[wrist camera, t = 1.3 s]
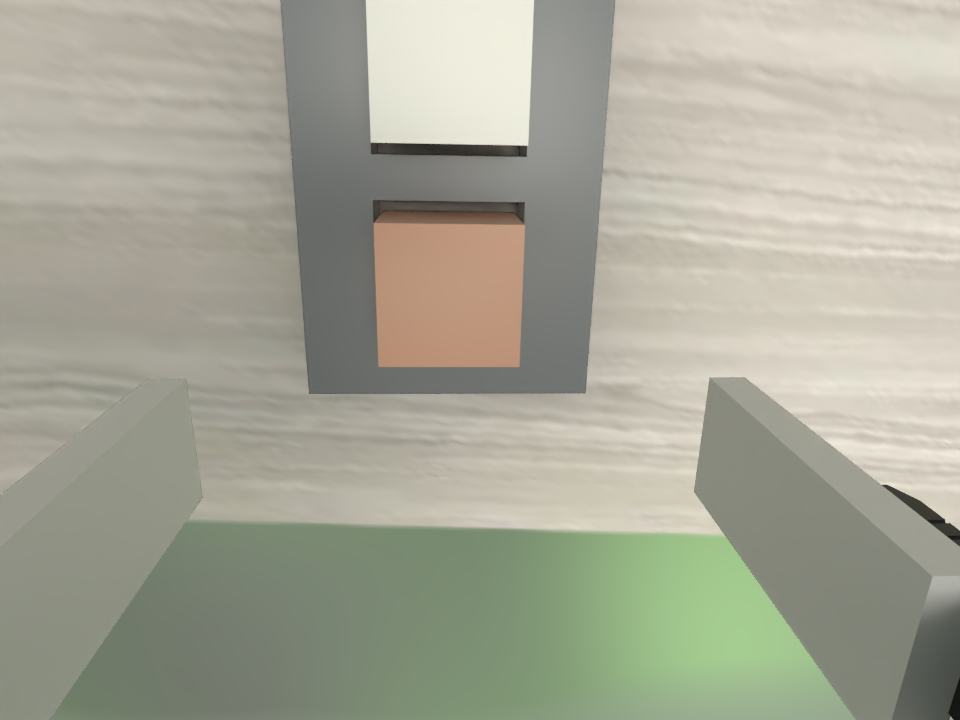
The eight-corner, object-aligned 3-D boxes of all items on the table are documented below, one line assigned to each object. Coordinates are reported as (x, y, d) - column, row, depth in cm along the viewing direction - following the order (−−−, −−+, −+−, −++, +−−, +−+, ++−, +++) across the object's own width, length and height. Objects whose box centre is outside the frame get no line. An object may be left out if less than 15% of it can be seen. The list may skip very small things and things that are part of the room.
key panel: (320, 373, 35) (308, 393, 32) (273, -340, 25) (251, -400, 23) (574, 373, 36) (585, 393, 33) (622, -319, 26) (643, -375, 23)
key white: (382, 142, 29) (370, 142, 24) (378, -8, 27) (364, -39, 22) (515, 145, 29) (528, 145, 25) (520, -3, 27) (535, -34, 23)
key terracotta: (388, 333, 32) (378, 366, 27) (384, 210, 30) (373, 223, 25) (508, 334, 32) (519, 367, 28) (512, 212, 30) (525, 224, 26)
